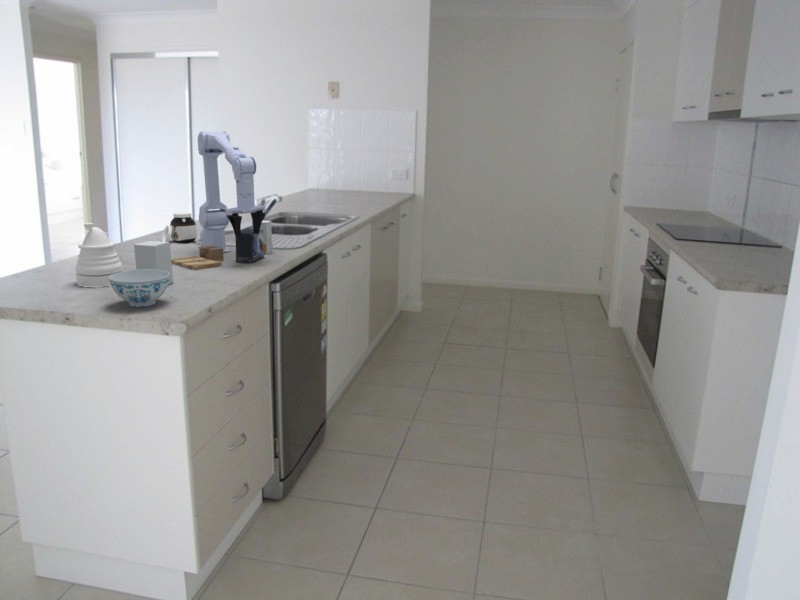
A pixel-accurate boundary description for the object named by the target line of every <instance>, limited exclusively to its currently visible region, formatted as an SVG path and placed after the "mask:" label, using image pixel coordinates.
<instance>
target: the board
mask: <svg viewBox="0 0 800 600" xmlns="http://www.w3.org/2000/svg"><path fill="white" fill-rule="evenodd" d="M221 262H222V261H214V260H210V259H206V258H202V257H200V256H197V255H191V256H184V257H177V258H171V263H172V265H174V264H175V265H174V266H178V265H179V267H182V266H183V267H182V268H185V267H186V269H189V268H190V269H189V270H192V269H193V271H197V269H199V270H203V269H204V270H205V269H208V268H216V267H221V266H222V263H221Z"/></svg>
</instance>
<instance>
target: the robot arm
mask: <svg viewBox="0 0 800 600" xmlns="http://www.w3.org/2000/svg"><path fill="white" fill-rule="evenodd" d="M197 148H198V149H197V150H198V154H199V155H201V156H202V161H203V173H204V174H203V175H204V186H205V187H204V188H205V198H206V201H205V202H204V203H202V204H201V205H200V206H199V210H198V211H199V212H198V221H199V224H200V226H201V228H202V229H201V231H200V232H199V233H200V234H199V238H200V247H203V246H215V247H219V248H223V253H228V252H231V249H227V246H226V245H227V244H226V229H227V226H229V223H230V224H231V227H232V229H233V233H234V235H235V236H240V235H241V231H242V229H241V227H242V226H241V225H242V220H243V219H242V218H243V216H242V215H243V214H244V215H245V214H250V217H251V220H252V221H253V231H254V233H256V234H259V231H260V226H261V223H262V220H264V218H265V216H266V205H255V204H256V203H255V184H254V182H255V181H254V175H255V174H256V172H257V162H256V160H255V158H254V157H253V156H247V155H246V154H245V153H244V152H243V151H242V149H240V148H239V146H236V145H233V144H232V143H231V139H230V135H229V133H228V132H227V131H226V130H225V131H204V130H201V131H200V132H199V133H198V136H197ZM223 154H224V158H225V159H226V161H227V162H228V163H229V164H230V165H231V167H232V168H231V169H232V173H233V178H234V181H235V187H236V188H235V189H236V207H230V208H228V206H227V205H226V204H225V203H223V202H222V201H221V194H220V193H221V192H220V191H221V190H220V182H219V181H220V178H219V168H218V167H219V164H218V158H219V156H221V155H223ZM241 214H242V215H241ZM240 215H241V216H240ZM252 221H251V222H252ZM235 236H234V237H235Z"/></svg>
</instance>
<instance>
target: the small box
mask: <svg viewBox="0 0 800 600" xmlns="http://www.w3.org/2000/svg"><path fill="white" fill-rule="evenodd" d="M234 237H235V238H234V239H235V262H236V263H244V262H245V263H246V264H253V263H255V262H257V260H258V261H260V260H262V259H264V258H265V257H264V256H265V254H264V246H263V230H260V231H259V234H256V233H254V231H253V229H252V228H246V229H241V235H240V236H234ZM245 263H244V264H245Z"/></svg>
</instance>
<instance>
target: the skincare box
mask: <svg viewBox="0 0 800 600" xmlns="http://www.w3.org/2000/svg"><path fill="white" fill-rule="evenodd" d="M251 227H252V228H251V229H253V221H251ZM260 230H263V246H264V255H269V254H271V253H273V241H272V239H273V237H272V232H273V231H272V221H271V220H264V219H263V220H262V223H261V226H260Z"/></svg>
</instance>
